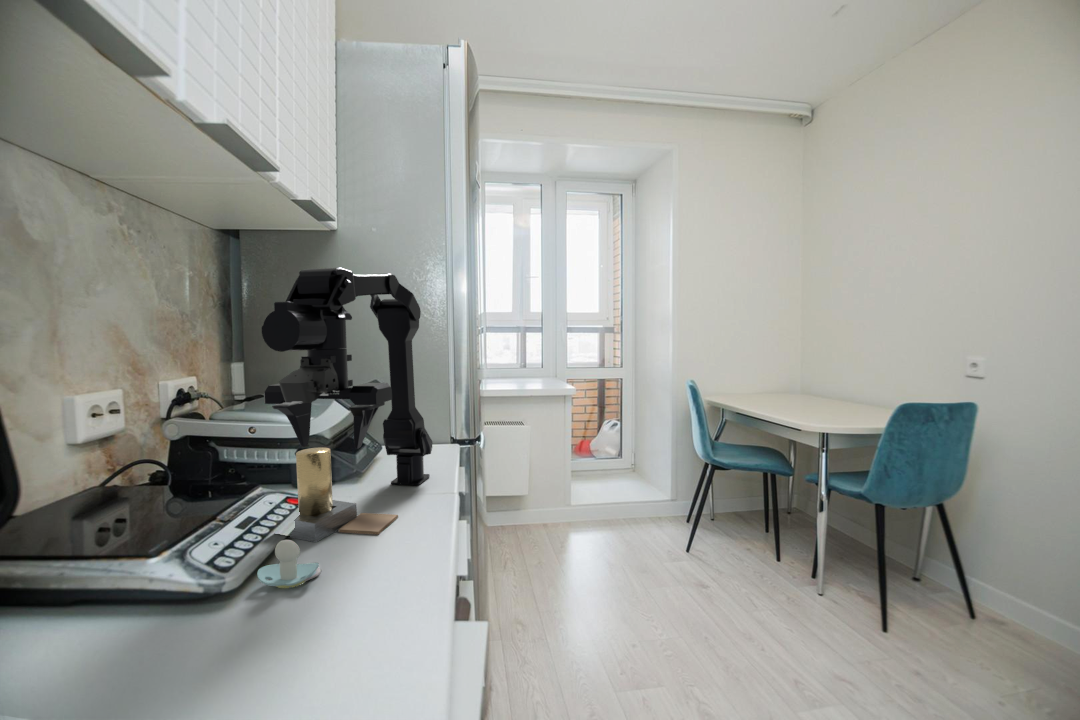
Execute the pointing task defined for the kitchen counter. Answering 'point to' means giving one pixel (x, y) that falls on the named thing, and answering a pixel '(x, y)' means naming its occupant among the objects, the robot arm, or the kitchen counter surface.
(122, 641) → the kitchen counter surface
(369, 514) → the mat
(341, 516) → the housing
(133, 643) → the kitchen counter surface
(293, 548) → the pacifier
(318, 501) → the gold metal cylinder
